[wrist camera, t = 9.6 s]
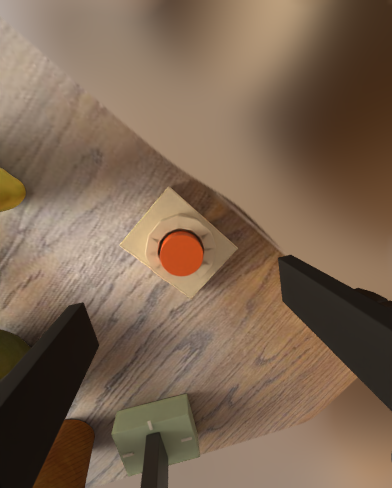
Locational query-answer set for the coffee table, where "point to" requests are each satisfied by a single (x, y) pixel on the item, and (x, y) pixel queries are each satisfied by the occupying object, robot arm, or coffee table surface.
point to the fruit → (10, 351)
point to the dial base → (152, 421)
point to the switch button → (181, 254)
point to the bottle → (10, 191)
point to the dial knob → (155, 463)
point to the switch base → (167, 222)
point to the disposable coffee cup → (68, 457)
